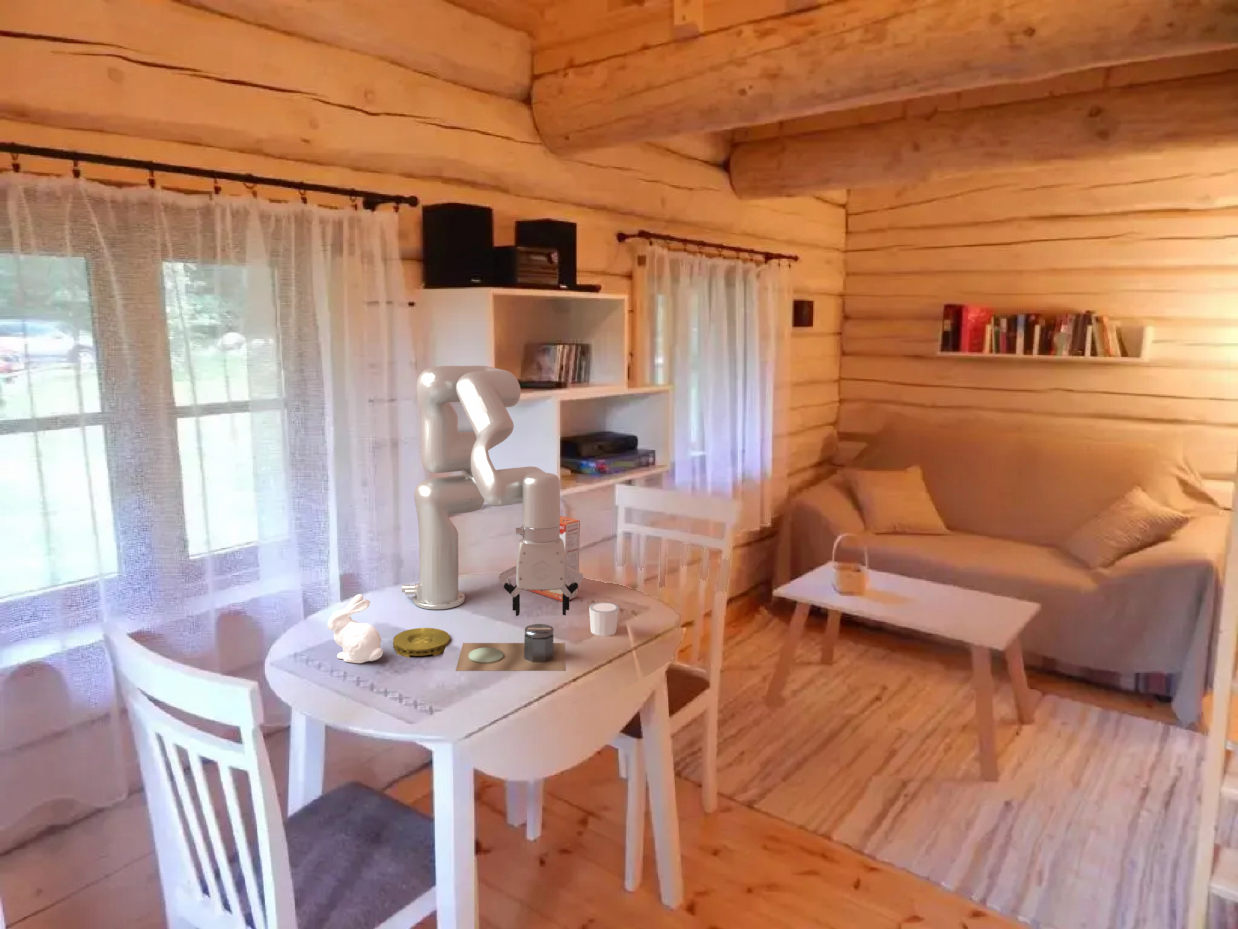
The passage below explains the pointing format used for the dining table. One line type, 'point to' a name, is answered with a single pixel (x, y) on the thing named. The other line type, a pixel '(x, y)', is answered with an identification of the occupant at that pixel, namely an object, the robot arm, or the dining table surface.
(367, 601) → the rabbit
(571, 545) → the cracker box
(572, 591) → the robot arm
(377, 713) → the dining table surface
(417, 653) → the brake disc
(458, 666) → the board
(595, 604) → the white cup
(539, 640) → the grey faceted cylinder
